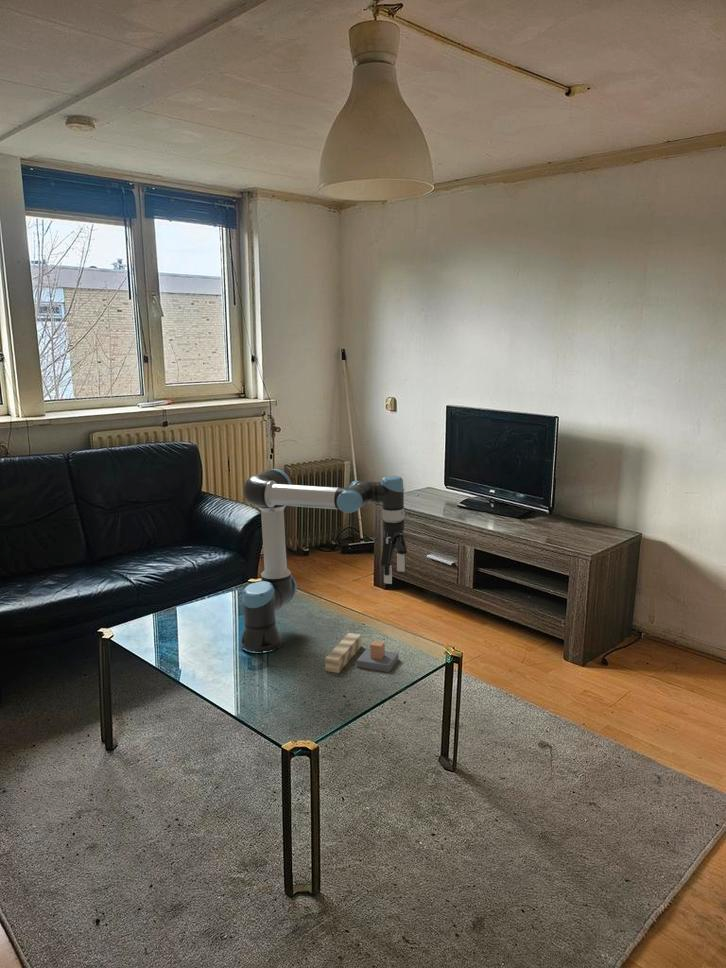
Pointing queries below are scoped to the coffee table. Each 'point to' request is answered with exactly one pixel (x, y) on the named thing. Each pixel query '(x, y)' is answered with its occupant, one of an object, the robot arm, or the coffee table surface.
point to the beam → (343, 652)
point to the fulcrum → (377, 658)
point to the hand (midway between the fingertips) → (394, 577)
